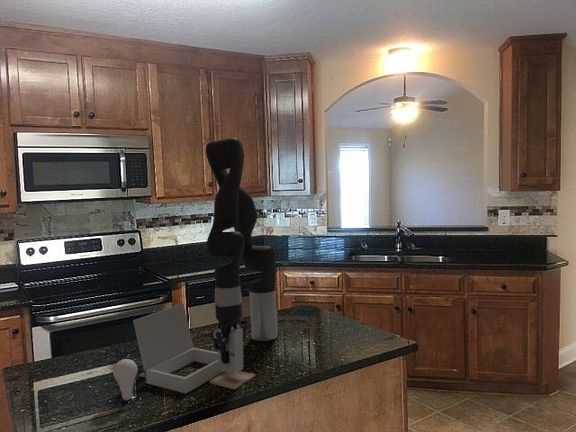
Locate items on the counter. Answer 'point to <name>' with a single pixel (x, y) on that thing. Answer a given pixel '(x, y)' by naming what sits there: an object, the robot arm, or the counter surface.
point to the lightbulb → (125, 376)
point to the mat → (232, 379)
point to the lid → (163, 335)
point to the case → (161, 371)
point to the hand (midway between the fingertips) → (231, 360)
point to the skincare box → (234, 352)
